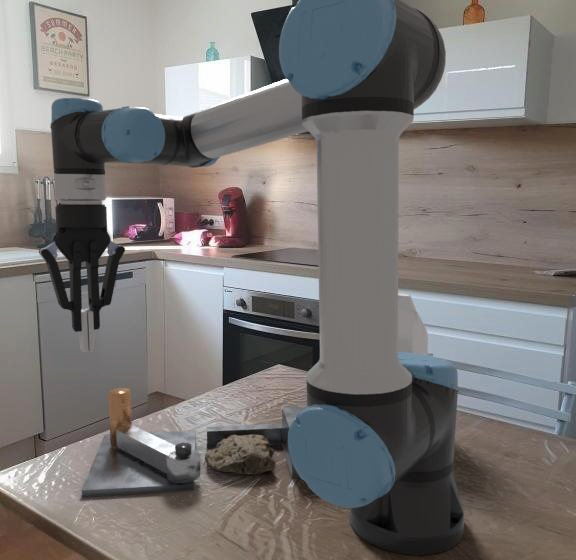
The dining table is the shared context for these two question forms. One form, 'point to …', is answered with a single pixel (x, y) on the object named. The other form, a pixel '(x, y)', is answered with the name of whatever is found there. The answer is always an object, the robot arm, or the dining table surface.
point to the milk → (410, 328)
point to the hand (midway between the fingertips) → (87, 349)
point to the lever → (147, 442)
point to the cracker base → (155, 480)
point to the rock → (242, 455)
